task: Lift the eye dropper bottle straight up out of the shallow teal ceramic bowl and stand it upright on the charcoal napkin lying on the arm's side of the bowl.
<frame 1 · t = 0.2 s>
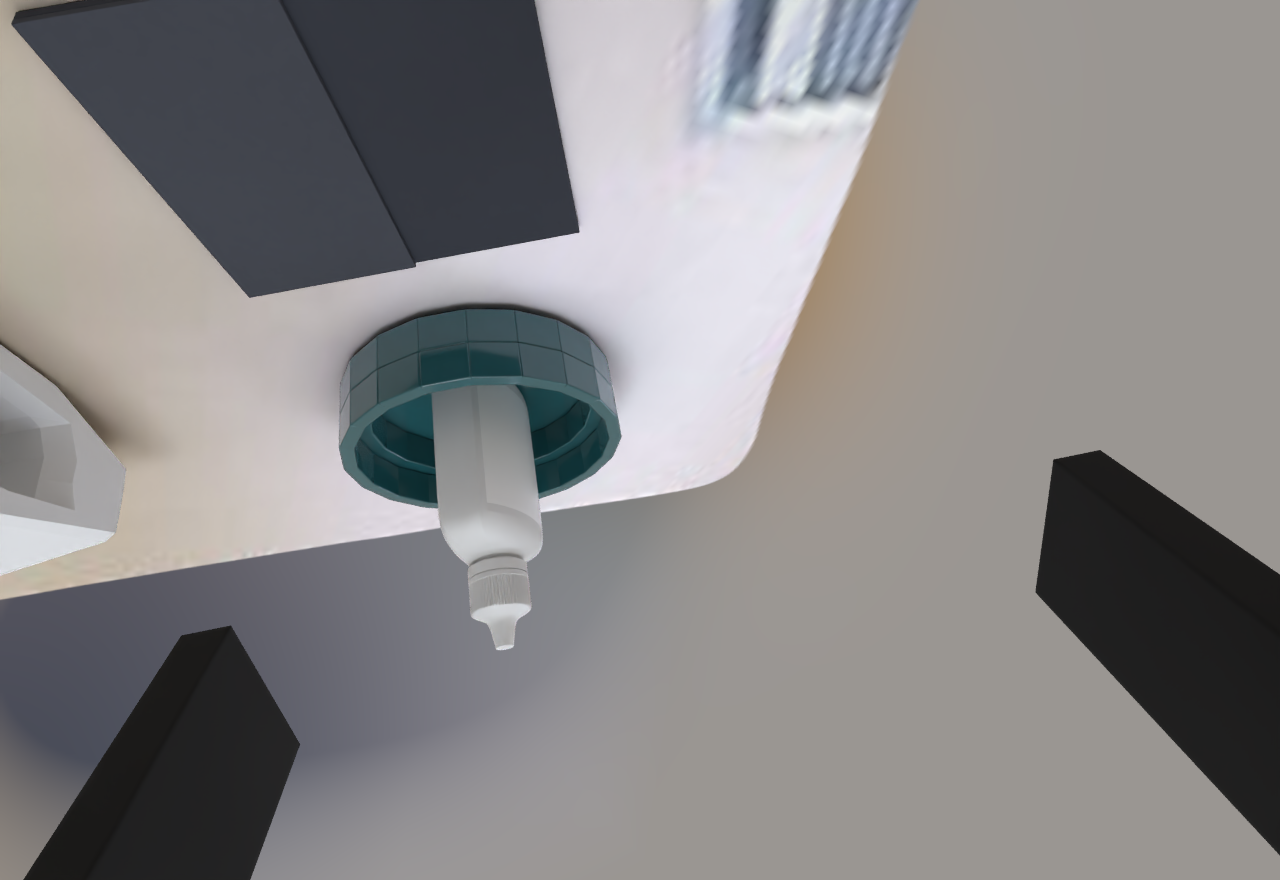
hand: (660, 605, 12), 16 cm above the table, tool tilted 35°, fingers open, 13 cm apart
napkin: (357, 142, 21), on the table
eye dropper bottle: (481, 388, 34), resting on bowl
bowl: (481, 386, 34), on the table
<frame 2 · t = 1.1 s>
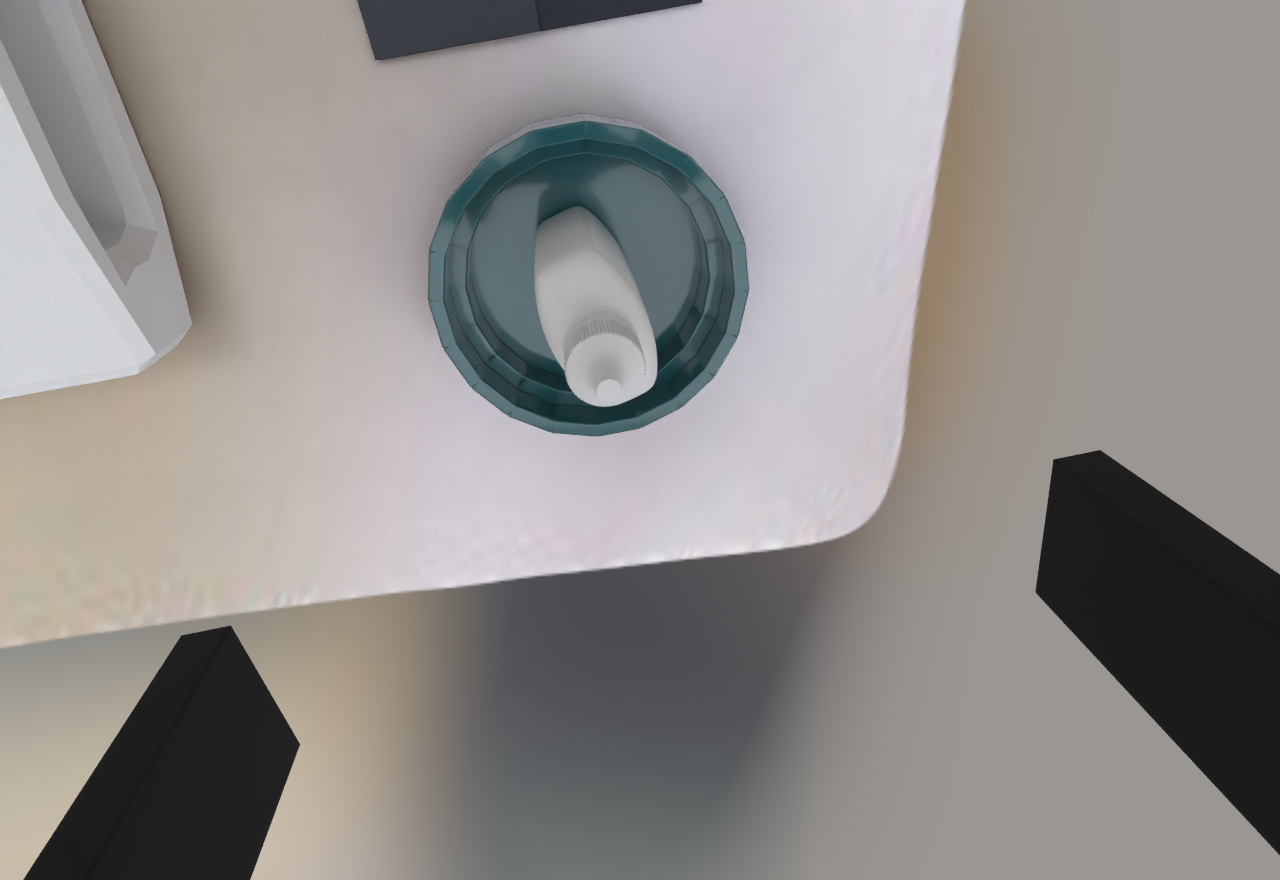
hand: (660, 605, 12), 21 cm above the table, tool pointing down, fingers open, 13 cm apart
eye dropper bottle: (587, 271, 30), resting on bowl
bowl: (587, 270, 30), on the table
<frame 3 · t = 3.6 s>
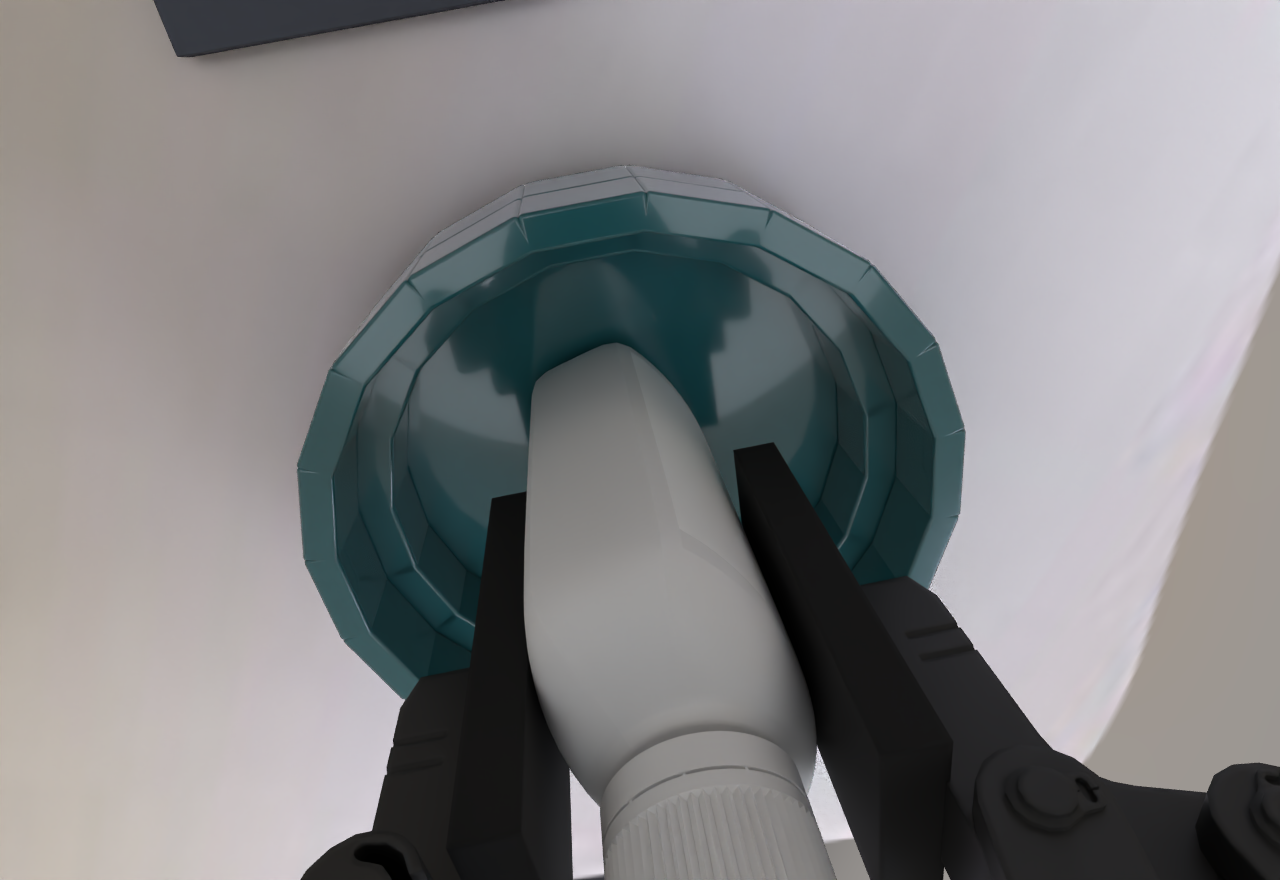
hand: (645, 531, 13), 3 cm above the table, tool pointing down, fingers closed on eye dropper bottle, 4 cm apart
eye dropper bottle: (628, 449, 16), resting on bowl, touching gripper
bowl: (627, 447, 16), on the table
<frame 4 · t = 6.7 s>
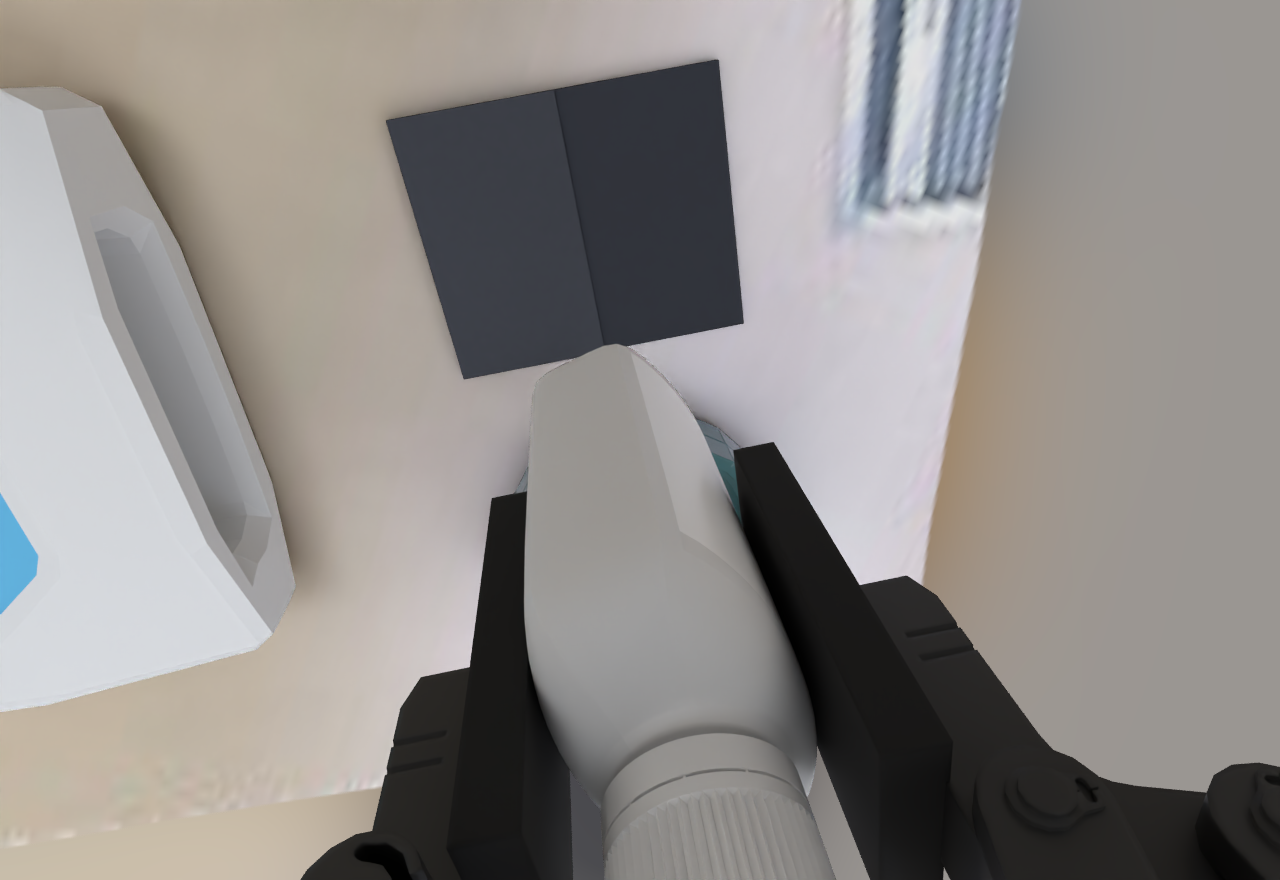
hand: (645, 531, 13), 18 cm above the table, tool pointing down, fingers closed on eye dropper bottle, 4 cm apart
napkin: (581, 229, 28), on the table
eye dropper bottle: (628, 450, 16), point 14 cm above the table, touching gripper
bowl: (638, 520, 34), on the table
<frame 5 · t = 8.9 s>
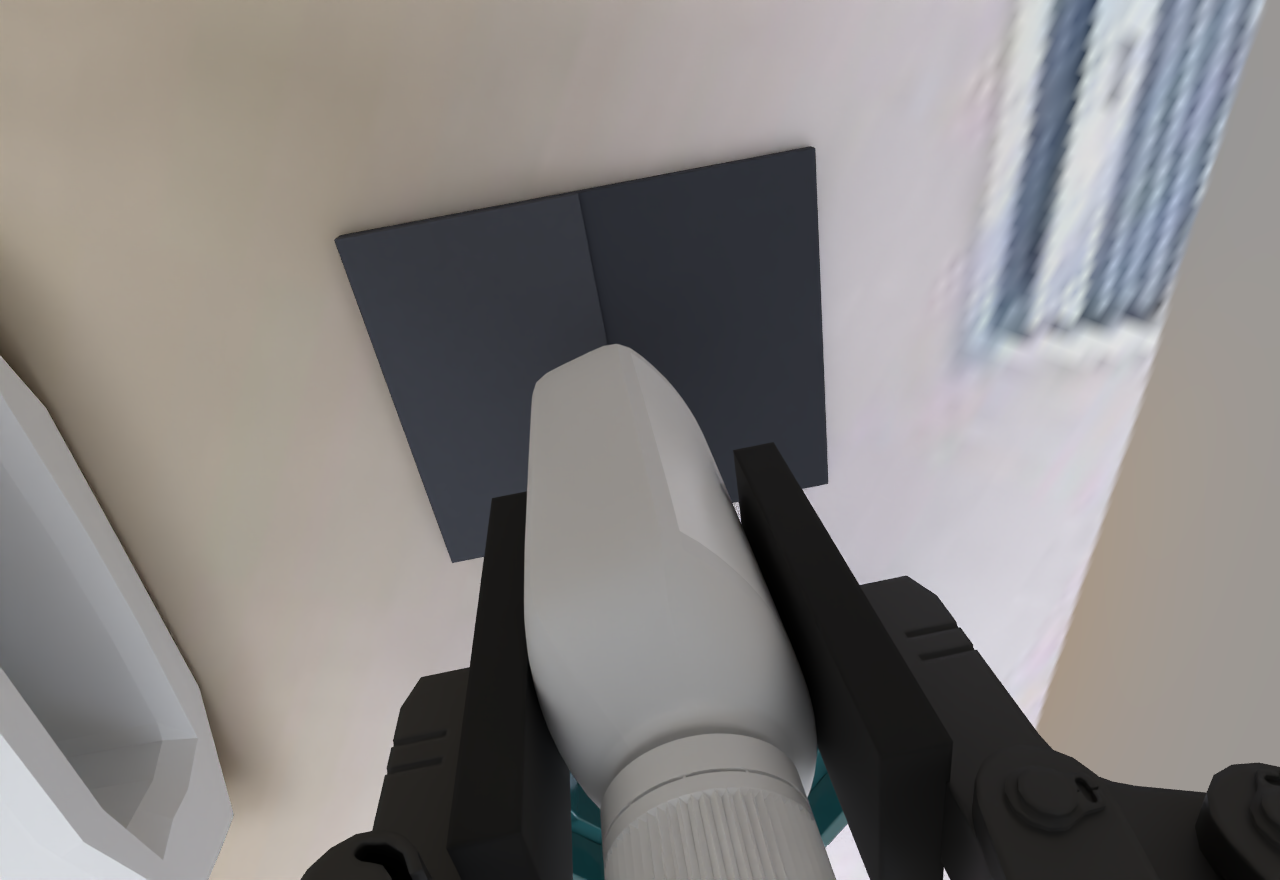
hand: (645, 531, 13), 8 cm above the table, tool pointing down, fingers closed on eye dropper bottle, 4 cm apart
napkin: (612, 372, 20), on the table
eye dropper bottle: (628, 450, 16), point 4 cm above the table, touching gripper
bowl: (678, 709, 27), on the table
when the fingers open (4 cm above the table, at t = 10.1 s): eye dropper bottle stays where it is, resting on napkin.
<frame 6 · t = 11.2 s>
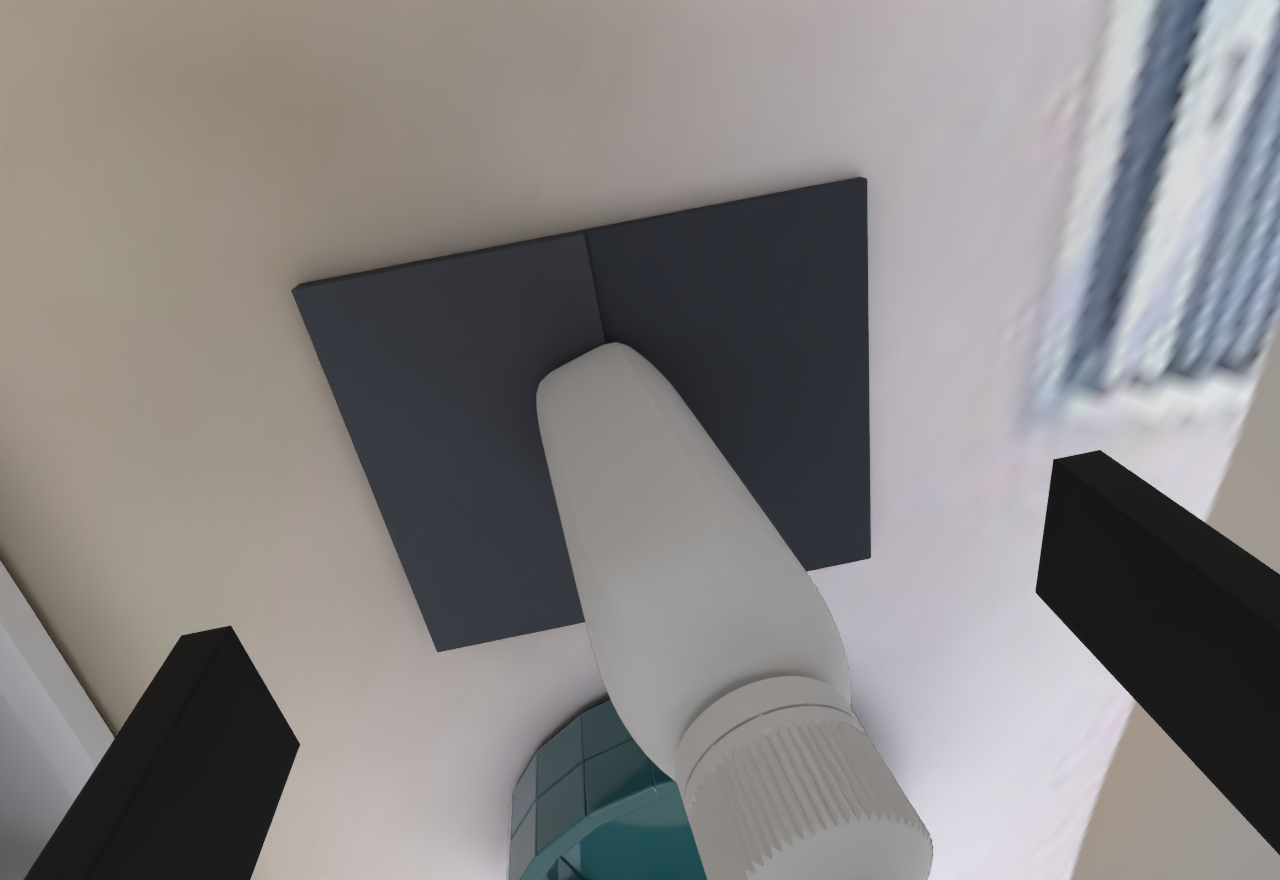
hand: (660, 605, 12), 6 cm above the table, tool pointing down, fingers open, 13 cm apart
napkin: (624, 437, 17), on the table
eye dropper bottle: (624, 446, 17), resting on napkin
bowl: (695, 801, 24), on the table
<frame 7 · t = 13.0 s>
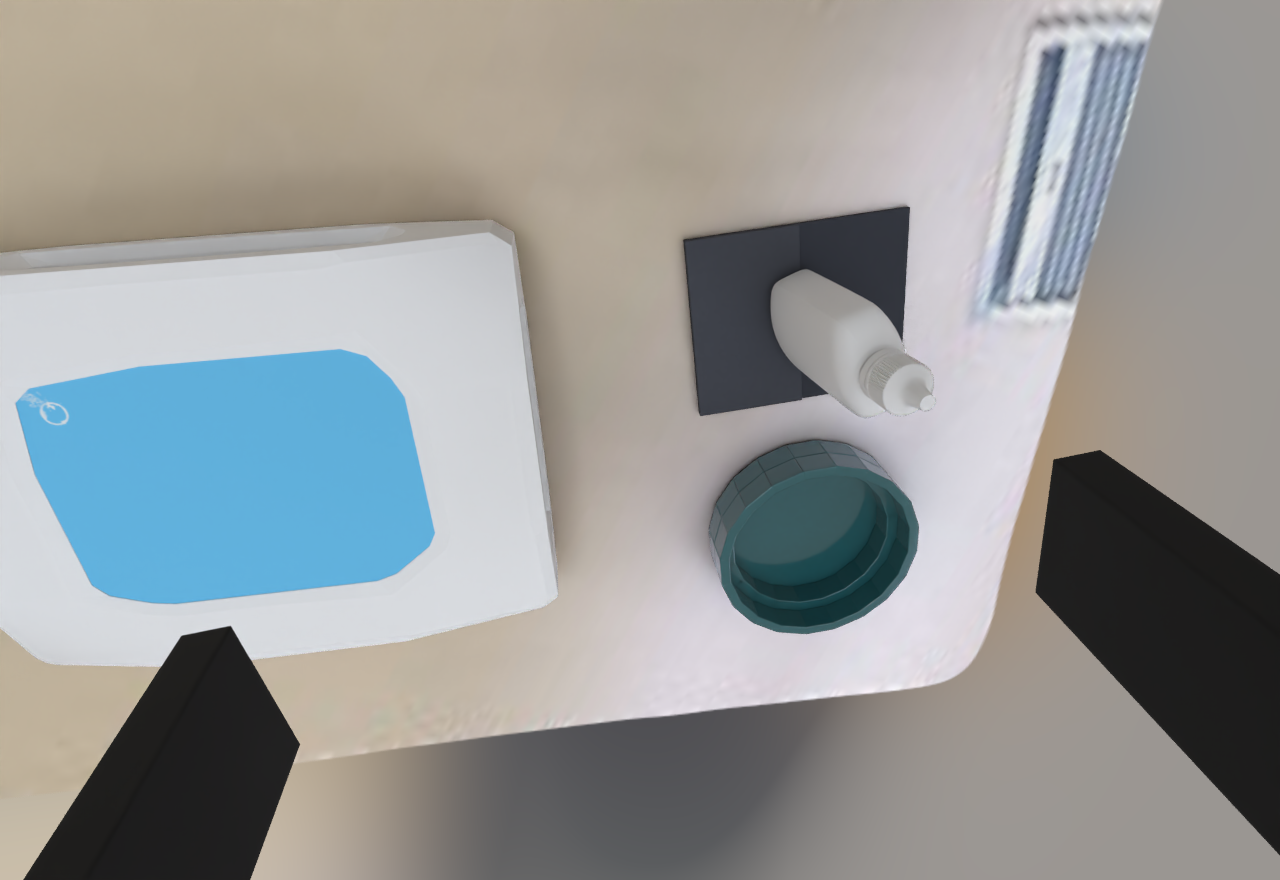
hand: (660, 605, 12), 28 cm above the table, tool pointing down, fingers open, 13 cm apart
napkin: (797, 314, 39), on the table
eye dropper bottle: (799, 317, 39), resting on napkin
bowl: (801, 522, 46), on the table
document scanner: (282, 428, 39), on the table
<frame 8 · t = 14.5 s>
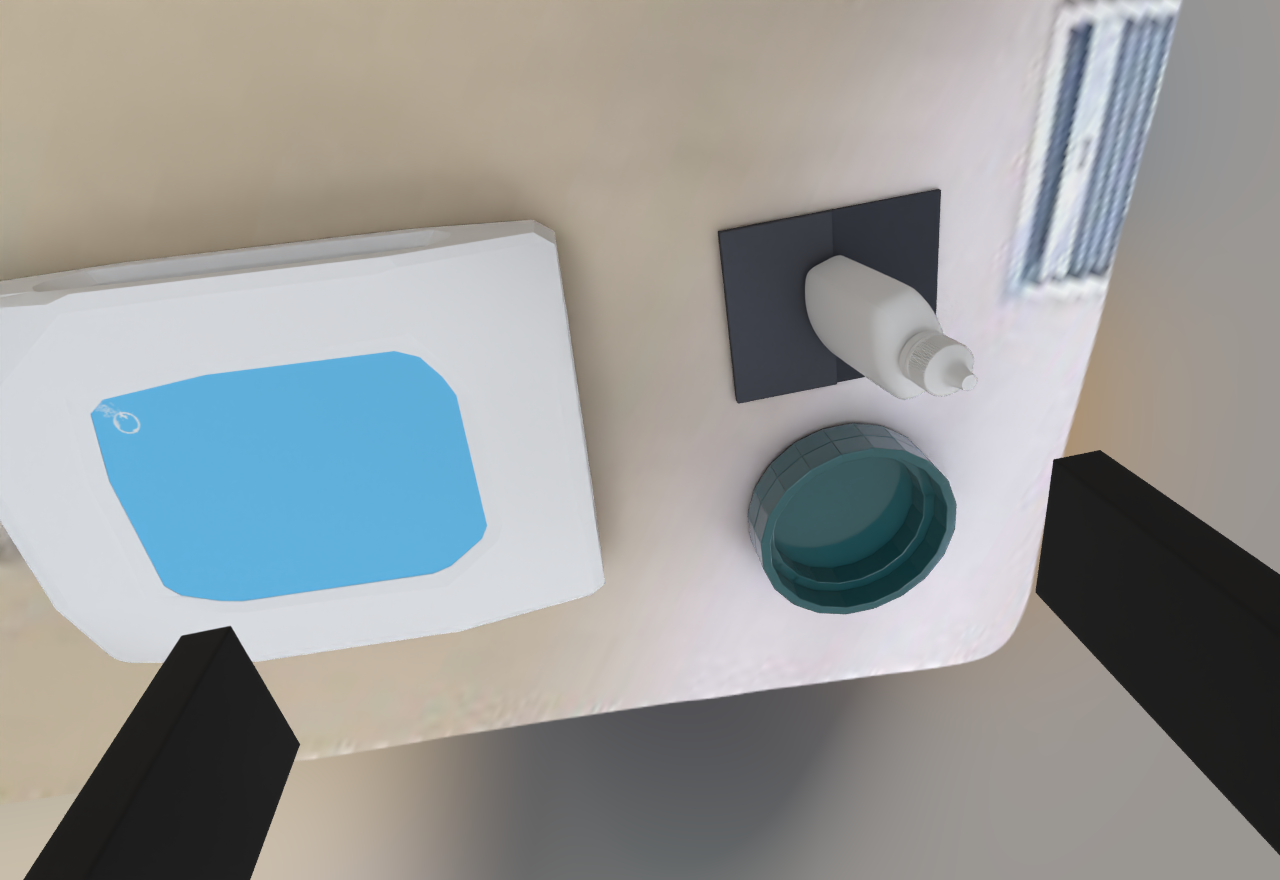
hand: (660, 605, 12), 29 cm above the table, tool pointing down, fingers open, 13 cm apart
napkin: (831, 300, 40), on the table
eye dropper bottle: (833, 303, 40), resting on napkin
bowl: (838, 505, 47), on the table
document scanner: (334, 429, 40), on the table
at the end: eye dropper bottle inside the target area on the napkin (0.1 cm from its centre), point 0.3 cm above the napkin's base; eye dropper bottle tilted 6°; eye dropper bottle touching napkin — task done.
